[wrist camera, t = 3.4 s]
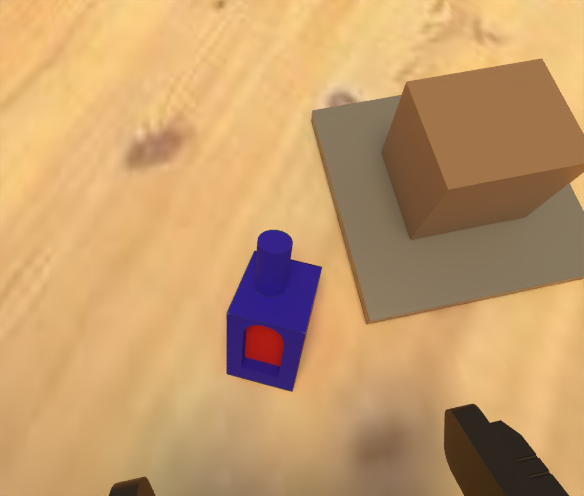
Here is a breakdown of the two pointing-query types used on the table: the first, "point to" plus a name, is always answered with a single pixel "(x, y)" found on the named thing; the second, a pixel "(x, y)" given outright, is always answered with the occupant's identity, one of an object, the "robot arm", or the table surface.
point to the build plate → (441, 256)
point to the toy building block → (271, 314)
